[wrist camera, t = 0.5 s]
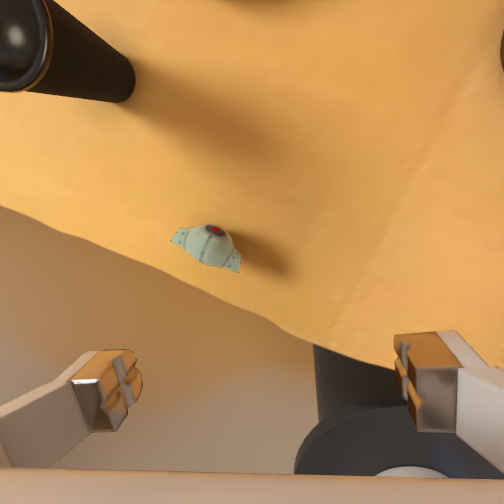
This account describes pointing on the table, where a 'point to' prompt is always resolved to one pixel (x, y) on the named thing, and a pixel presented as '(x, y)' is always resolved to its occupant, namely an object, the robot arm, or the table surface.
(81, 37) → the drinking cup
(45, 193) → the table surface
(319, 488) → the robot arm
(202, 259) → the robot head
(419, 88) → the table surface
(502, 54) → the brown round base
